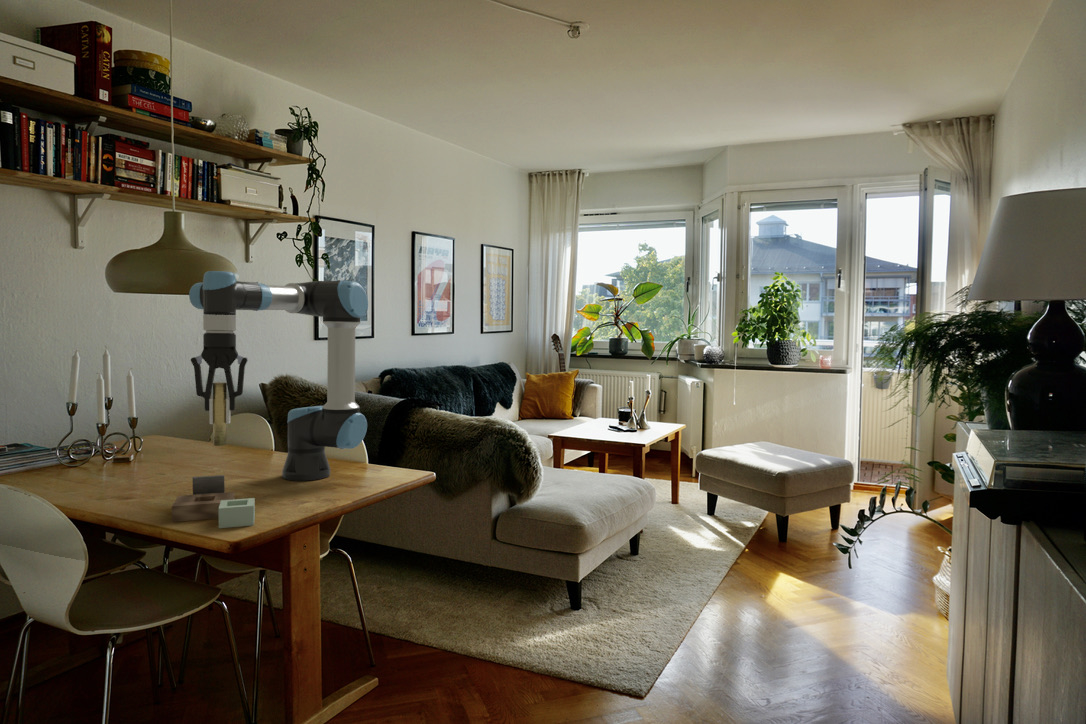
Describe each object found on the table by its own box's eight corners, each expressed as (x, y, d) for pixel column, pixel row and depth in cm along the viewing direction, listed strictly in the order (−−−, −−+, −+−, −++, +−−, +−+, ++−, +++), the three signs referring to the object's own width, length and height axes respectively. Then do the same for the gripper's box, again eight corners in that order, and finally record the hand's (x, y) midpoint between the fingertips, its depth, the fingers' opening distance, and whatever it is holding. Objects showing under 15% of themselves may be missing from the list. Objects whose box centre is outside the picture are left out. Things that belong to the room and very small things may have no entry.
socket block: (234, 506, 189) (234, 491, 189) (232, 516, 179) (232, 501, 179) (178, 510, 184) (177, 495, 184) (172, 521, 174) (171, 506, 174)
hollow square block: (254, 516, 180) (254, 497, 179) (253, 525, 172) (253, 505, 172) (221, 519, 177) (221, 500, 177) (218, 528, 169) (218, 508, 169)
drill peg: (227, 443, 178) (227, 382, 177) (226, 445, 175) (225, 383, 174) (214, 444, 177) (213, 382, 176) (212, 446, 174) (212, 383, 173)
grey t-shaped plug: (224, 500, 195) (224, 475, 194) (221, 509, 185) (221, 483, 185) (193, 502, 192) (192, 476, 191) (188, 512, 182) (188, 485, 182)
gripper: (255, 332, 181) (255, 420, 182) (186, 331, 176) (187, 422, 177) (253, 332, 174) (253, 424, 175) (181, 331, 169) (182, 426, 170)
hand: (220, 423), depth 176 cm, fingers closed on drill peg, 3 cm apart
